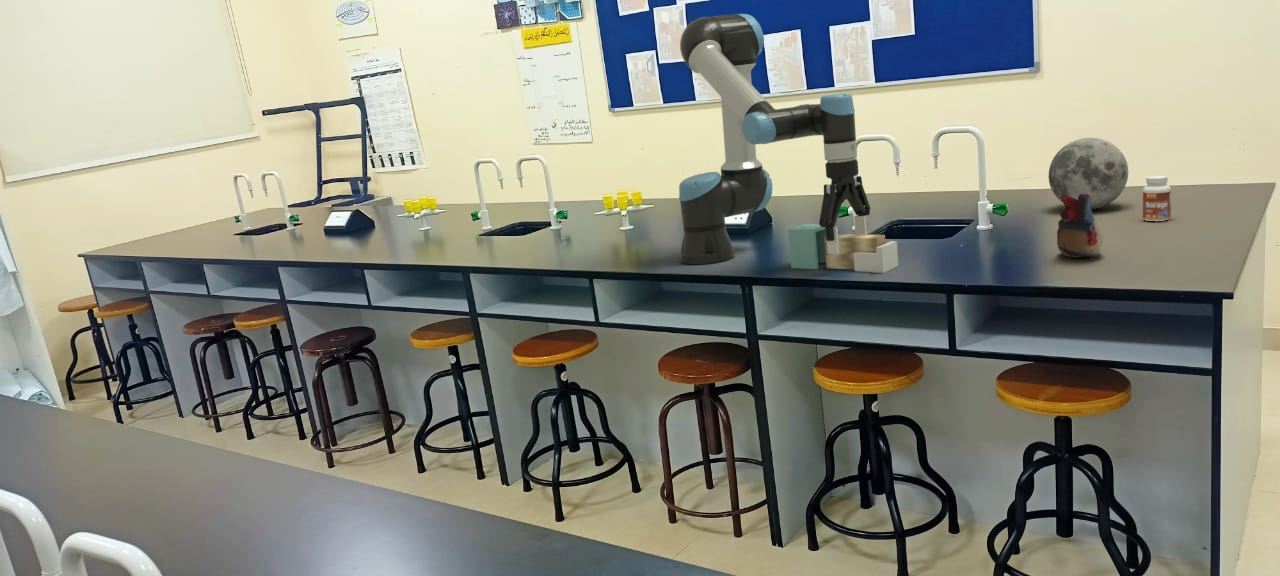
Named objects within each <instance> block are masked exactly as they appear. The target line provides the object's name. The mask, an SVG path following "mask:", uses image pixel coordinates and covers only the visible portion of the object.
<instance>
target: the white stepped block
mask: <svg viewBox="0 0 1280 576" xmlns="http://www.w3.org/2000/svg"><path fill="white" fill-rule="evenodd" d="M853 255H854V268H855V269H854V272H866V273H877V274H884V273H885V274H886V273H888V272H889V271H891V270H894V269H895V268H897V267H899V252H898V241H897V240H895V241H894V240H893V241H892V240H890V241H887V242H885V244H883V245H881V246H879V247H876V253H862V252H855V253H853Z"/></svg>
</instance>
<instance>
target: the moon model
mask: <svg viewBox="0 0 1280 576" xmlns="http://www.w3.org/2000/svg"><path fill="white" fill-rule="evenodd" d="M1128 179H1129V165H1128V162H1127V158H1126V157H1125V155H1124V154H1123V152H1122V151H1121V149H1120V148H1118V147H1117V146H1116V145H1115V144H1113V143H1111V142H1110V141H1108V140H1105V139H1103V138H1102V139H1101V138H1097V137H1084V138H1079V139H1076V140H1073V141H1071V142H1069V143H1068V144H1066V145H1064V146H1063V147H1062V148H1060V150H1058V152H1057V153H1056V154H1055V155H1054V157H1053V158H1052V160H1051V162H1050V165H1049V169H1048V183H1049V187H1050V189H1051V191H1052V193H1053V194H1054V196H1055V197H1056V199H1058V200H1059V201H1060V202H1061V203H1062V204H1064V203H1063V202H1062V200H1061V196H1062V195H1063V194H1068V195H1070V196H1071V197H1073V198H1075V199H1077V200H1078V196H1079V195H1080V194H1088V195H1090V197H1091V202H1090V207H1091V209H1093V210H1097V209H1096V208H1098V209H1100V208H1104V207H1105V206H1108V205H1110V204H1111V203H1112V202H1114V201H1115V200H1116V199H1118V197H1119V196H1120V195H1121V194H1122V193H1123V191H1124V190H1125V187H1126V185H1127V183H1128Z"/></svg>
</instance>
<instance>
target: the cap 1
mask: <svg viewBox="0 0 1280 576" xmlns="http://www.w3.org/2000/svg"><path fill="white" fill-rule="evenodd" d="M787 233H788V244H789V255H790V256H789V257H790V265H791V266H790V268H791V269H801V270H802V269H805V270H806V269H807V270H818V269H819V264H826V252H825V240H824V237H826V229H825V227H821V226H820V225H819V223H803V224H800V225H796V226H794V227H791V228H788V229H787Z"/></svg>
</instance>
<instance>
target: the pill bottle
mask: <svg viewBox="0 0 1280 576" xmlns="http://www.w3.org/2000/svg"><path fill="white" fill-rule="evenodd" d="M1145 183H1146V184H1147V185H1146V186H1144V187H1143V188H1142V189H1143V190H1142V220H1143V219H1148V220H1163V219H1169V218H1170V219H1171V217H1172V216H1171V214H1172V213H1171V209H1172V199H1171V198H1172V188H1171V186H1170V185H1169V184H1168V176H1167V175H1150V176H1147V177H1146V179H1145Z"/></svg>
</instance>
